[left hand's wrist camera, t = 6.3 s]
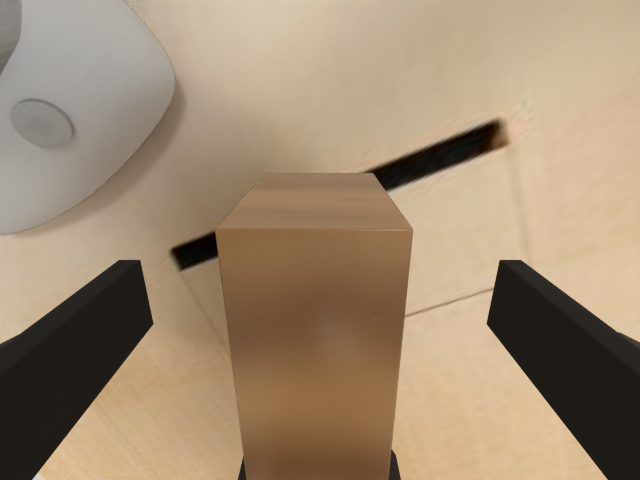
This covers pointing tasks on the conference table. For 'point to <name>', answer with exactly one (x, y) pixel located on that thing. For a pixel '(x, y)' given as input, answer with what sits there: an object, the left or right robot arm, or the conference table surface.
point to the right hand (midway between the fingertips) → (320, 416)
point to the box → (315, 323)
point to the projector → (72, 101)
